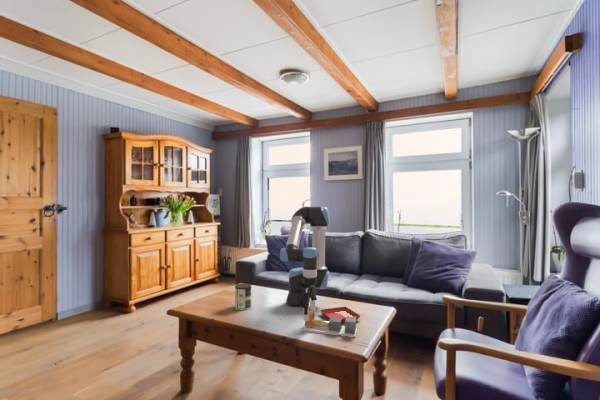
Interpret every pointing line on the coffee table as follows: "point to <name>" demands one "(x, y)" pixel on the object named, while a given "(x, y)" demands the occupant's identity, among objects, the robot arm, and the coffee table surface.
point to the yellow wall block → (315, 321)
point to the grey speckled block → (335, 324)
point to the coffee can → (242, 296)
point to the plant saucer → (331, 313)
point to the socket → (350, 325)
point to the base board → (326, 331)
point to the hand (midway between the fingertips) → (309, 316)
